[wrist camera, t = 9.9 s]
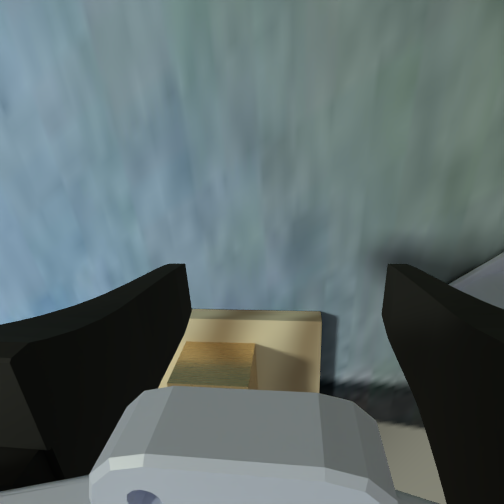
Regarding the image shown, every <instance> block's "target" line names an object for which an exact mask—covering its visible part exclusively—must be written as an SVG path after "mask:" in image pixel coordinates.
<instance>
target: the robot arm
mask: <svg viewBox="0 0 504 504" xmlns="http://www.w3.org/2000/svg"><path fill="white" fill-rule="evenodd" d="M191 312H192V308H191V301H190V294H189V287H188V280H187V273H186V266H185V264H167V265H164V266H162V267H159V268H157V269H155V270H153V271H151V272H149V273H147V274H145V275H143V276H141V277H139V278H137V279H135V280H133V281H131V282H129V283H127V284H125V285H123V286H121V287H119V288H116V289H114V290H112V291H110V292H108V293H106V294H103V295H101V296H99V297H96V298H94V299H91V300H88V301H86V302H83V303H80V304H77V305H75V306H72V307H68V308H65V309H62V310H58V311H55V312H51V313H48V314H45V315H41V316H37V317H33V318H29V319H25V320H21V321H16V322H11V323H6V324H2V325H0V504H439V503H436V502H432V501H429V500H426V499H423V498H420V497H417V496H413V495H410V494H407V493H404V492H401V491H398V490H395V488H394V485H393V481H392V477H391V473H390V470H389V466H388V463H387V458H386V455H385V451H384V447H383V444H382V440H381V436H380V433H379V429H378V425H377V421H376V420H374V419H373V418H372V417H371V416H370V415H368V414H367V413H366V412H365V411H364V410H362V409H361V408H360V407H359V406H358V405H356V404H355V403H354V402H352V401H349V400H345V399H341V398H337V397H333V396H329V395H325V394H321V393H313V392H292V391H272V390H252V389H231V388H211V387H191V386H170V387H164V388H158V387H159V385H160V383H161V381H162V379H163V377H164V375H165V373H166V371H167V369H168V367H169V365H170V363H171V361H172V359H173V357H174V355H175V353H176V351H177V349H178V347H179V344H180V342H181V340H182V338H183V336H184V334H185V331H186V328H187V325H188V322H189V319H190V316H191ZM382 318H383V322H384V326H385V329H386V333H387V336H388V339H389V342H390V344H391V346H392V349H393V351H394V353H395V355H396V358H397V360H398V362H399V364H400V367H401V369H402V371H403V373H404V375H405V378H406V380H407V382H408V384H409V386H410V389H411V391H412V393H413V396H414V398H415V401H416V403H417V406H418V408H419V412H420V415H421V418H422V421H423V424H424V427H425V430H426V433H427V436H428V440H429V443H430V446H431V450H432V453H433V456H434V460H435V463H436V466H437V470H438V473H439V477H440V481H441V485H442V488H443V492H444V496H445V499H446V503H447V504H504V252H503V253H501V254H500V255H498V256H496V257H495V258H493V259H491V260H489V261H488V262H486V263H484V264H483V265H481V266H479V267H477V268H476V269H474V270H472V271H470V272H469V273H467V274H465V275H464V276H462V277H460V278H458V279H457V280H455V281H453V282H452V283H450V284H446V283H444V282H442V281H441V280H439V279H437V278H435V277H433V276H431V275H429V274H427V273H425V272H423V271H421V270H419V269H417V268H415V267H413V266H411V265H408V264H388V266H387V274H386V283H385V291H384V299H383V308H382Z"/></svg>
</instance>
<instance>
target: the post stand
mask: <svg viewBox="0 0 504 504" xmlns="http://www.w3.org/2000/svg"><path fill="white" fill-rule="evenodd" d="M321 331H322V319H321V312H319V311H267V310H215V309H192V312H191V316H190V319H189V322H188V325H187V328H186V331H185V334H184V336H183V338H182V340H181V342H180V344H179V347H178V349H177V351H176V353H175V355H174V357H173V359H172V361H171V363H170V365H169V367H168V369H167V371H166V373H165V375H164V377H163V379H162V381H161V383H160V385H159V387H158V388H164V387H167V382H168V380H169V378H170V375H171V373H172V371H173V369H174V367H175V364H176V362H177V360H178V358H179V356H180V354H181V351H182V349H183V347H184V345H185V343H186V341H192V342H228V343H255V349H256V365H257V380H258V390H272V391H292V392H313V393H319V384H320V358H321Z"/></svg>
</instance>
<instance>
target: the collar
mask: <svg viewBox="0 0 504 504" xmlns="http://www.w3.org/2000/svg"><path fill="white" fill-rule="evenodd" d="M170 386H191V387H211V388H231V389H252V390H258V380H257V365H256V349H255V343H228V342H192V341H186V343H185V345H184V347H183V349H182V351H181V354H180V356H179V358H178V360H177V362H176V364H175V367H174V369H173V371H172V373H171V375H170V378H169V380H168V382H167V387H170Z"/></svg>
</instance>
